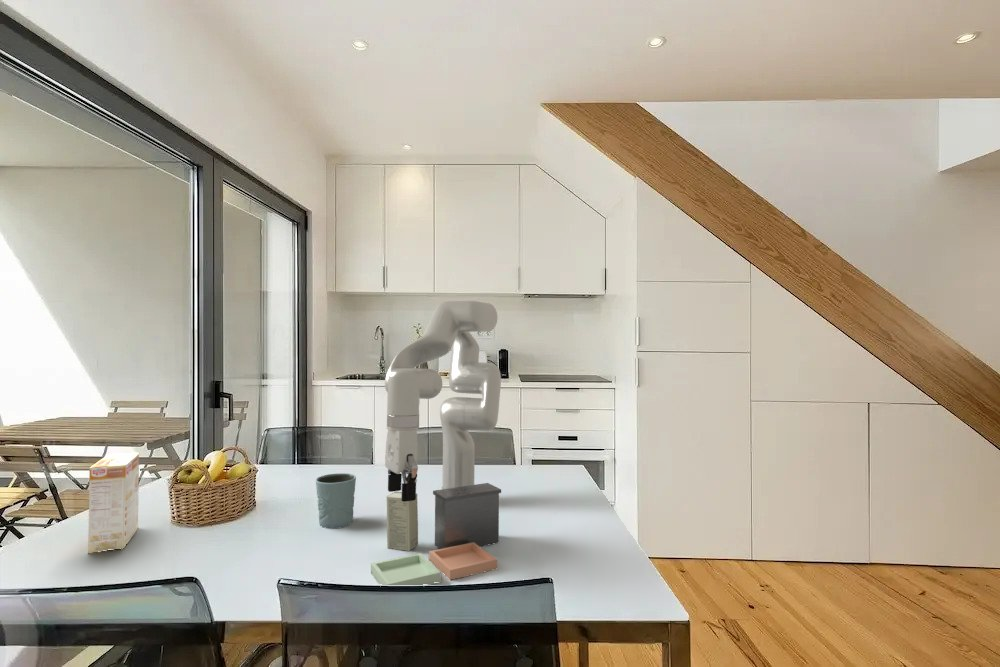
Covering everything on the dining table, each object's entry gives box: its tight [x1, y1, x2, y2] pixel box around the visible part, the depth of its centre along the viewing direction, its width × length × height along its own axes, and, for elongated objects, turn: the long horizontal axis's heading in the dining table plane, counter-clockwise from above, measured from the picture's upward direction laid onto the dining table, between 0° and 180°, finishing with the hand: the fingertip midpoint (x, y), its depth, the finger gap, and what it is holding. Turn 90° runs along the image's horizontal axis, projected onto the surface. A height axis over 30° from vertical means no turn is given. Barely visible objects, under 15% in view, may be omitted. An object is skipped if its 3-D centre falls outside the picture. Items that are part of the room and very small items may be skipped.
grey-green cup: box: [315, 472, 357, 529], centre depth 139 cm, size 10×10×12 cm
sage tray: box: [370, 552, 442, 585], centre depth 107 cm, size 11×11×2 cm
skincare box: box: [386, 491, 419, 552], centre depth 123 cm, size 6×4×12 cm
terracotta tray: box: [428, 542, 498, 581], centre depth 113 cm, size 11×11×2 cm
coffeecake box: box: [87, 452, 140, 554], centre depth 126 cm, size 15×7×20 cm, turn 23°
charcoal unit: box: [432, 482, 502, 549], centre depth 125 cm, size 7×15×13 cm, turn 120°
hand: (401, 495), depth 123 cm, fingers open, 9 cm apart
